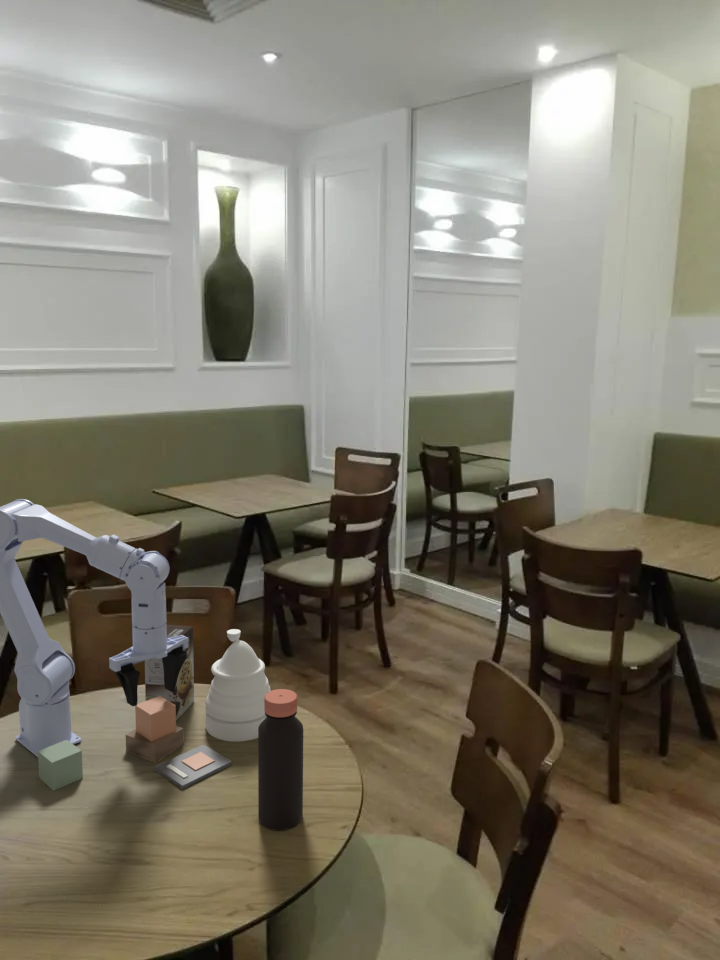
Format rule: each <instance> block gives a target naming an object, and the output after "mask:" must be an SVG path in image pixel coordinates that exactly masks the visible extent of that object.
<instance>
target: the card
mask: <svg viewBox="0 0 720 960" xmlns="http://www.w3.org/2000/svg"><path fill="white" fill-rule="evenodd" d="M229 766H232V761H231V760H230V759H228V758H227V757H225V756H223V755H221V754H220V753H219V752H217V751H215V750H214V749H212V748H210V747H209V746H207V745H205V744H204V743H203V744H200V745H199V746H197V747H194V748H193V749H190V750H188V751H186V752H184V753H182V754H179V755H177V756H175V757H173V758H171V759H169V760H166V761H164V762H162V763H160V764H157V765H155V766H154V771H156V772H157V773H159V774H160V775H162V776H163V777H164V778H166V779H167V780H169V781H170V782H172V783H173V784H175V785H176V786H178V788H180V789H182V790H183V789H185V788H187V787H189V786H191V785H194V784H195V783H198V782H200V781H201V780H204V779H205V778H207V777H210V776H211V775H212V776H213V774H215V773H218V772H220V771H221V770H223V769H226V768H227V767H229Z"/></svg>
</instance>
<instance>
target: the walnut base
mask: <svg viewBox="0 0 720 960" xmlns="http://www.w3.org/2000/svg"><path fill="white" fill-rule="evenodd" d="M182 746H184V728H183V727H180V726H178V725H176V732H173V733H171V734H168V735H166V736H164V737H161V738H159V739H156V740H154V741H150V740H148V739H147V738H145V737H144V736H142V735H141V734H140V733H138V732H137V731H136V728H134V729H133V730H131V731H130V732H128V733H126V734H125V751H126V752H127V753H130V754H132V755H134V756H137V757H139V758H142V759H145V760H147V761H150V762H153V763H157V762H159V761H161V760H162V759H163V758H165V757H166V756H168V755H169V754H172V752H174V751H177V750H178V749H179V748H180V747H182Z"/></svg>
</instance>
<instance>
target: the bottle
mask: <svg viewBox="0 0 720 960" xmlns="http://www.w3.org/2000/svg"><path fill="white" fill-rule="evenodd" d="M264 710H265V715H266V718H265V719H264V720H263V721H262V722H261V724H260V725H259V727H258V738H257V744H258V745H257V746H258V748H257V750H258V751H257V756H258V760H257V767H258V768H257V770H258V771H257V773H258V777H257V779H258V783H257V784H258V788H257V789H258V792H257V793H258V795H257V796H258V805H257V806H258V812H257V813H258V821H259V822H260V824H261V825H262V826H263V827H265V828H267V829H269V830H273V831H286V830H290V829H291V828H293V827H295V826H298V824H299V823H300V822H301V820H302V819H303V815H304V814H303V813H304V812H303V811H304V810H303V809H304V808H303V807H304V797H303V796H304V726H303V723H302V722H301V720H299V718H298V717H296V715H297V713H298V694H297V693H296V692H295V691H293V690H291V689H285V688H278V689H273V690H271V691H270V692H268V693H267V694H265V696H264Z"/></svg>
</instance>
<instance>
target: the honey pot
mask: <svg viewBox="0 0 720 960" xmlns="http://www.w3.org/2000/svg"><path fill="white" fill-rule="evenodd" d="M226 636H227V638H228V640H229V641H230V642H232V644H231V645H229V646H228V647H227V649H226V651H225V652H224V654H223V656H222V657H221V658H220V659H217V660H216V661H215V662H214V663H213V664H212V665H211V668H210V671H211V673H212V676H214V677H213V679H212V680H211V683H210V687H209V689H208V694H207V696H206V699H205V703H204V704H205V728H206V732H207V733H208V734H209V735H210V736H212V737H213V738H215V739H218V740H220V741H221V740H222V741H226V742H247V741H251V740H252V741H253V740H255V739H258V727H259V725H260V724H261V722H262V721H263V720H264V719H265V718H266V715H265V710H264V696H265V694H267V693H268V692H270V691H272V690H271V686H270V684H269V679H268V677H267V676H266V673H265V669H266V665H265V662H264V660H261V658H259V657H258V656H257V654H256V652H255V651H254V649H253V648H252V646H250V644H248V643H247V642H246V641H244V640H240V637H241V630H240V629H237V628H231V629H228V630H226Z"/></svg>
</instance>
